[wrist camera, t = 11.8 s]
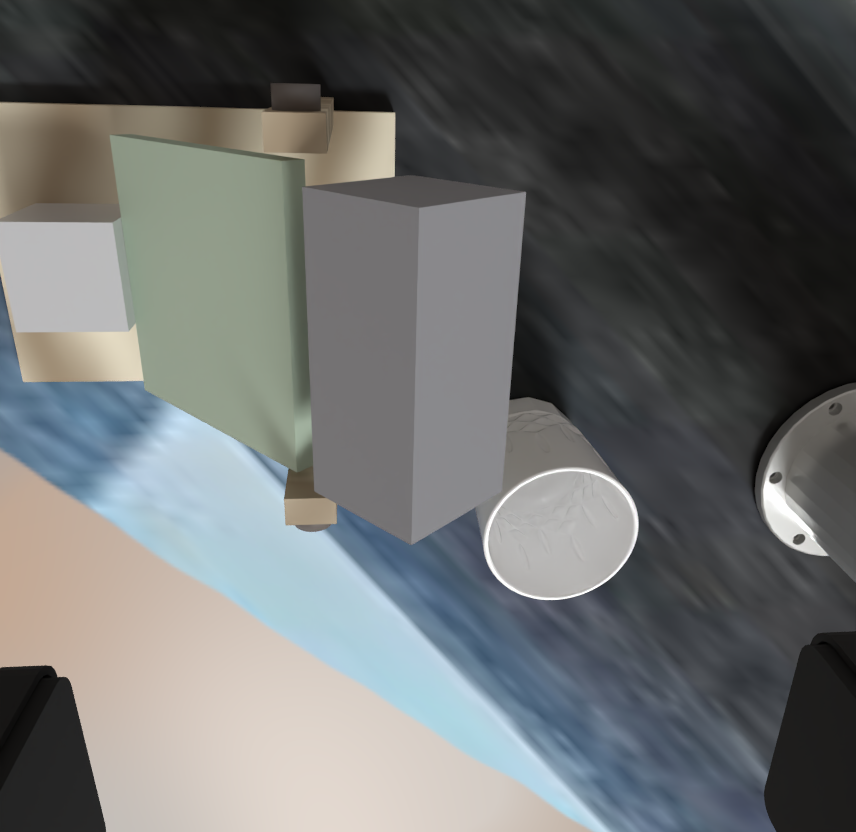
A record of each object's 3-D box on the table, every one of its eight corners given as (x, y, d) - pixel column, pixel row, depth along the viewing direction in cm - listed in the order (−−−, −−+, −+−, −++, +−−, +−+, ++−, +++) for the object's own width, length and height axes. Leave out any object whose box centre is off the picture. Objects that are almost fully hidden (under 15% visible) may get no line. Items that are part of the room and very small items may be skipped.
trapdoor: (527, 175, 24) (419, 188, 20) (501, 502, 29) (411, 557, 25) (190, 131, 35) (86, 135, 32) (214, 369, 40) (126, 395, 37)
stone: (112, 222, 33) (-8, 221, 32) (128, 331, 35) (16, 332, 34) (140, 204, 37) (35, 203, 37) (153, 301, 39) (54, 302, 39)
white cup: (439, 485, 47) (461, 583, 38) (482, 372, 44) (517, 450, 35) (554, 512, 49) (601, 613, 40) (602, 405, 46) (664, 488, 37)
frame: (394, 81, 37) (421, 88, 24) (391, 394, 44) (411, 538, 31) (-34, 68, 35) (-273, 68, 22) (35, 398, 42) (-113, 554, 29)
